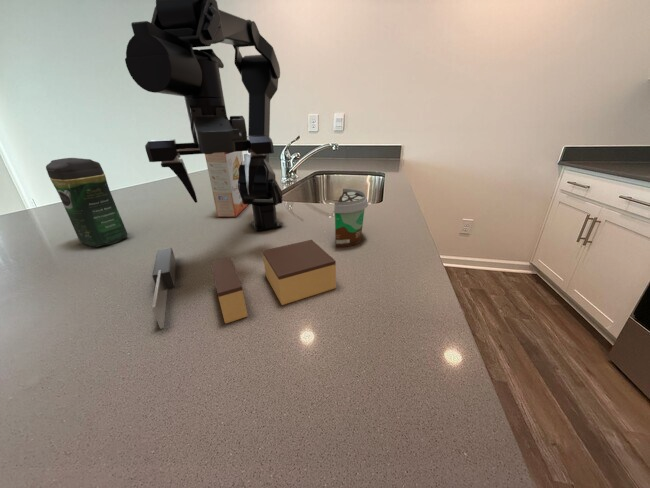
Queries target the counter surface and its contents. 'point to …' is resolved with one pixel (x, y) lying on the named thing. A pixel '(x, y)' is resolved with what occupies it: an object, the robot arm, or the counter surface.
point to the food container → (349, 217)
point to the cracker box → (225, 182)
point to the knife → (163, 282)
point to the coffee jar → (87, 200)
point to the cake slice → (229, 290)
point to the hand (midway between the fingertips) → (224, 198)
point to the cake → (299, 270)
